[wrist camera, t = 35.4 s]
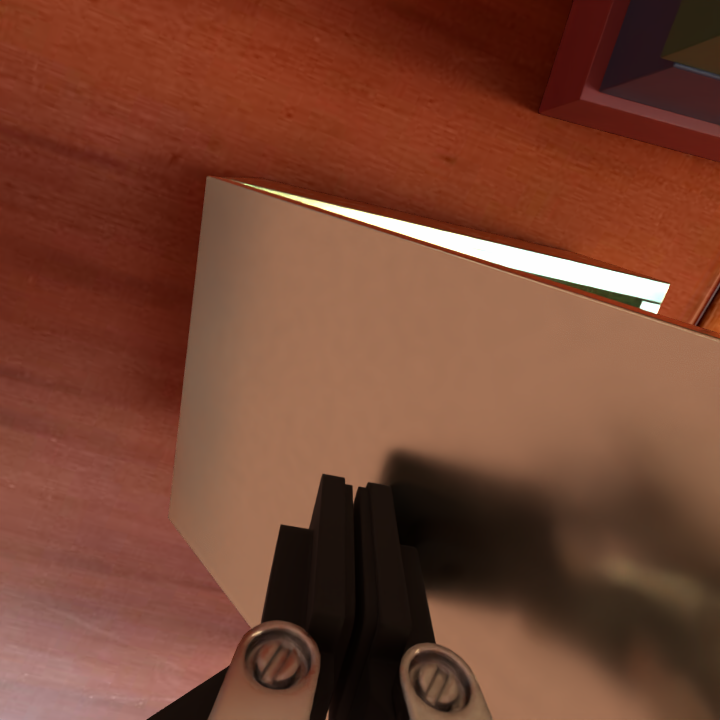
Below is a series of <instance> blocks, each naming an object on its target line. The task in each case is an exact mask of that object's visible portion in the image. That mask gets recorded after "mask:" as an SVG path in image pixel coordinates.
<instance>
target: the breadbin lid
mask: <svg viewBox="0 0 720 720" xmlns="http://www.w3.org/2000/svg"><path fill="white" fill-rule="evenodd" d="M322 474H328V475H333V476H339V477H344V478H345V484H349V485H352V486H353V503H354V499H355V496H356V492H357V489H358V487H359V486H360V487H365V488H366V485H367V483H368V482H372V483H377V484H383V485H388V486H391V489H392V495H393V502H394V509H395V515H396V522H397V529H398V535H399V542H400V544H401V545H407V546H413V547H415V548H416V549H417V551H418V555H419V560H420V565H421V570H422V575H423V580H424V585H425V590H426V596H427V601H428V606H429V611H430V616H431V621H432V626H433V631H434V636H435V642H436V644H440V645H442V646H444V647H446V648H449V649H451V650H452V651H454V652H455V653H456V654H458V655H459V656H460V657H462V659H463V660H464V661H465V662H466V663H467V664H468V665H469V666H470V668H471V670H472V671H473V673H474V675H475V677H476V679H477V681H478V683H479V686H480V688H481V691H482V693H483V696H484V698H485V701H486V703H487V706H488V708H489V711H490V713H491V715H492V718H493V720H720V333H717V332H713V331H710V330H707V329H704V328H701V327H698V326H694V325H691V324H688V323H685V322H682V321H678V320H675V319H672V318H669V317H666V316H662V315H659V314H656V313H653V312H650V311H647V310H643V309H640V308H637V307H634V306H631V305H627V304H624V303H621V302H618V301H615V300H611V299H608V298H605V297H602V296H599V295H596V294H592V293H589V292H586V291H583V290H580V289H576V288H573V287H570V286H567V285H564V284H560V283H557V282H554V281H551V280H548V279H545V278H541V277H538V276H535V275H532V274H529V273H525V272H522V271H519V270H516V269H513V268H509V267H506V266H503V265H500V264H497V263H494V262H490V261H487V260H484V259H481V258H478V257H474V256H471V255H468V254H465V253H462V252H458V251H455V250H452V249H449V248H446V247H443V246H439V245H436V244H433V243H430V242H427V241H423V240H420V239H417V238H414V237H411V236H407V235H404V234H401V233H398V232H395V231H392V230H388V229H385V228H382V227H379V226H376V225H372V224H369V223H366V222H363V221H360V220H356V219H353V218H350V217H347V216H344V215H341V214H337V213H334V212H331V211H328V210H325V209H321V208H318V207H315V206H312V205H309V204H305V203H302V202H299V201H296V200H293V199H290V198H286V197H283V196H280V195H277V194H274V193H270V192H267V191H264V190H261V189H258V188H254V187H251V186H248V185H245V184H242V183H239V182H235V181H232V180H229V179H225V178H220V177H215V176H207V178H206V187H205V195H204V204H203V213H202V222H201V231H200V240H199V249H198V257H197V266H196V275H195V284H194V293H193V302H192V310H191V319H190V328H189V337H188V346H187V355H186V363H185V372H184V381H183V390H182V399H181V408H180V417H179V425H178V434H177V443H176V452H175V461H174V470H173V478H172V487H171V496H170V505H169V514H168V518H169V520H170V521H171V522H172V524H173V525H174V526H175V528H176V529H177V530H178V532H179V533H180V534H181V536H182V537H183V538H184V540H185V541H186V542H187V544H188V545H189V546H190V548H191V549H192V550H193V552H194V553H195V554H196V556H197V557H198V558H199V560H200V561H201V562H202V564H203V565H204V566H205V568H206V569H207V570H208V572H209V573H210V574H211V576H212V577H213V578H214V580H215V581H216V582H217V584H218V585H219V586H220V588H221V589H222V590H223V592H224V593H225V594H226V596H227V597H228V598H229V600H230V601H231V602H232V604H233V605H234V606H235V608H236V609H237V610H238V611H239V613H240V614H241V615H242V617H243V618H244V619H245V621H246V622H247V623H248V625H249V626H250V627H251V629H252V628H253V627H254V626H257V625H259V624H261V618H262V613H263V608H264V603H265V597H266V592H267V587H268V582H269V577H270V572H271V567H272V562H273V557H274V552H275V548H276V543H277V538H278V534H279V529H280V525H281V524H283V525H289V526H294V527H300V528H306V529H309V526H310V522H311V518H312V514H313V509H314V505H315V501H316V497H317V493H318V489H319V484H320V480H321V477H322ZM328 714H329V709H328V713H327V716H326V719H325V720H328Z"/></svg>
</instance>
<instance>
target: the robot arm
mask: <svg viewBox="0 0 720 720" xmlns="http://www.w3.org/2000/svg"><path fill="white" fill-rule="evenodd" d="M328 709H329V714H328V720H493V718H492V715H491V713H490V711H489V708H488V706H487V703H486V701H485V698H484V696H483V693H482V691H481V688H480V686H479V683H478V681H477V679H476V677H475V675H474V673H473V671H472V670H471V668H470V666H469V665H468V664H467V663H466V662H465V661H464V660H463V659H462V657H460V656H459V655H458V654H456V653H455V652H454V651H452V650H451V649H449V648H446V647H444V646H442V645H440V644H436V642H435V636H434V631H433V626H432V621H431V616H430V611H429V606H428V601H427V596H426V590H425V585H424V580H423V575H422V570H421V565H420V560H419V555H418V551H417V549H416V548H415V547H413V546H407V545H401V544H400V542H399V535H398V529H397V522H396V515H395V509H394V502H393V495H392V489H391V486H388V485H383V484H377V483H372V482H368V483H367V485H366V488H365V487H360V486H359V487H358V489H357V492H356V496H355V499H354V503H353V486H352V485H349V484H345V478H344V477H339V476H333V475H328V474H322V477H321V480H320V484H319V489H318V493H317V497H316V501H315V505H314V509H313V514H312V518H311V522H310V526H309V529H306V528H300V527H294V526H289V525H283V524H281V525H280V529H279V534H278V538H277V543H276V548H275V552H274V557H273V562H272V567H271V572H270V577H269V582H268V587H267V592H266V597H265V603H264V608H263V613H262V618H261V624H259V625H257V626H254V627H253V628H252V629H251V630H249V631H248V632H247V633H246V634H245V635H244V636H243V638H242V640H241V641H240V643H239V644H238V646H237V649H236V651H235V654H234V656H233V659H232V661H231V664H230V666H228V667H227V668H225V669H224V670H222V671H220V672H219V673H217V674H216V675H214V676H213V677H211V678H210V679H208V680H207V681H205V682H204V683H202V684H200V685H199V686H197V687H196V688H194V689H193V690H191V691H190V692H188V693H187V694H185V695H184V696H182V697H180V698H179V699H177V700H176V701H174V702H173V703H171V704H170V705H168V706H167V707H165V708H164V709H162V710H160V711H159V712H157V713H156V714H154V715H153V716H151V717H150V718H148V719H147V720H325V719H326V716H327V713H328Z"/></svg>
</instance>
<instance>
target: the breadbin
mask: <svg viewBox="0 0 720 720" xmlns="http://www.w3.org/2000/svg"><path fill="white" fill-rule="evenodd" d="M221 178H225V179H229V180H232V181H235V182H239V183H242V184H245V185H248V186H251V187H254V188H258V189H261V190H264V191H267V192H270V193H274V194H277V195H280V196H283V197H286V198H290V199H293V200H296V201H299V202H302V203H305V204H309V205H312V206H315V207H318V208H321V209H325V210H328V211H331V212H334V213H337V214H341V215H344V216H347V217H350V218H353V219H356V220H360V221H363V222H366V223H369V224H372V225H376V226H379V227H382V228H385V229H388V230H392V231H395V232H398V233H401V234H404V235H407V236H411V237H414V238H417V239H420V240H423V241H427V242H430V243H433V244H436V245H439V246H443V247H446V248H449V249H452V250H455V251H458V252H462V253H465V254H468V255H471V256H474V257H478V258H481V259H484V260H487V261H490V262H494V263H497V264H500V265H503V266H506V267H509V268H513V269H516V270H519V271H522V272H525V273H529V274H532V275H535V276H538V277H541V278H545V279H548V280H551V281H554V282H557V283H560V284H564V285H567V286H570V287H573V288H576V289H580V290H583V291H586V292H589V293H592V294H596V295H599V296H602V297H605V298H608V299H611V300H615V301H618V302H621V303H624V304H627V305H631V306H634V307H637V308H640V309H643V310H647V311H650V312H653V313H656V314H657V312H658V310H659V308H660V306H661V303H662V301H663V299H664V297H665V295H666V292H667V290H668V288H669V286H670V283H667V282H664V281H661V280H658V279H655V278H652V277H649V276H646V275H643V274H640V273H636V272H633V271H630V270H627V269H624V268H621V267H618V266H615V265H612V264H609V263H605V262H602V261H599V260H596V259H593V258H590V257H587V256H584V255H581V254H577V253H574V252H569V251H565V250H561V249H557V248H553V247H548V246H544V245H540V244H536V243H532V242H527V241H523V240H519V239H515V238H511V237H507V236H502V235H498V234H494V233H490V232H486V231H481V230H477V229H473V228H469V227H465V226H460V225H456V224H452V223H448V222H444V221H439V220H435V219H431V218H427V217H423V216H418V215H414V214H410V213H406V212H402V211H398V210H393V209H389V208H385V207H381V206H377V205H372V204H368V203H364V202H360V201H356V200H351V199H347V198H343V197H339V196H335V195H330V194H326V193H322V192H318V191H314V190H310V189H305V188H301V187H297V186H293V185H289V184H284V183H280V182H276V181H272V180H268V179H263V178H246V177H221Z"/></svg>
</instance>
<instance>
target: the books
mask: <svg viewBox="0 0 720 720" xmlns="http://www.w3.org/2000/svg"><path fill="white" fill-rule="evenodd" d="M538 113H539V114H542V115H546V116H550V117H553V118H557V119H561V120H564V121H568V122H572V123H576V124H579V125H583V126H587V127H590V128H594V129H598V130H602V131H605V132H609V133H613V134H617V135H620V136H624V137H628V138H631V139H635V140H639V141H643V142H646V143H650V144H654V145H658V146H661V147H665V148H669V149H672V150H676V151H680V152H684V153H687V154H691V155H695V156H699V157H702V158H706V159H710V160H713V161H717V162H720V0H574V1H573V4H572V7H571V10H570V13H569V17H568V20H567V23H566V26H565V29H564V32H563V35H562V39H561V42H560V45H559V48H558V51H557V54H556V58H555V61H554V64H553V67H552V70H551V73H550V76H549V80H548V83H547V86H546V89H545V92H544V95H543V99H542V102H541V105H540V108H539V111H538Z"/></svg>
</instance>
